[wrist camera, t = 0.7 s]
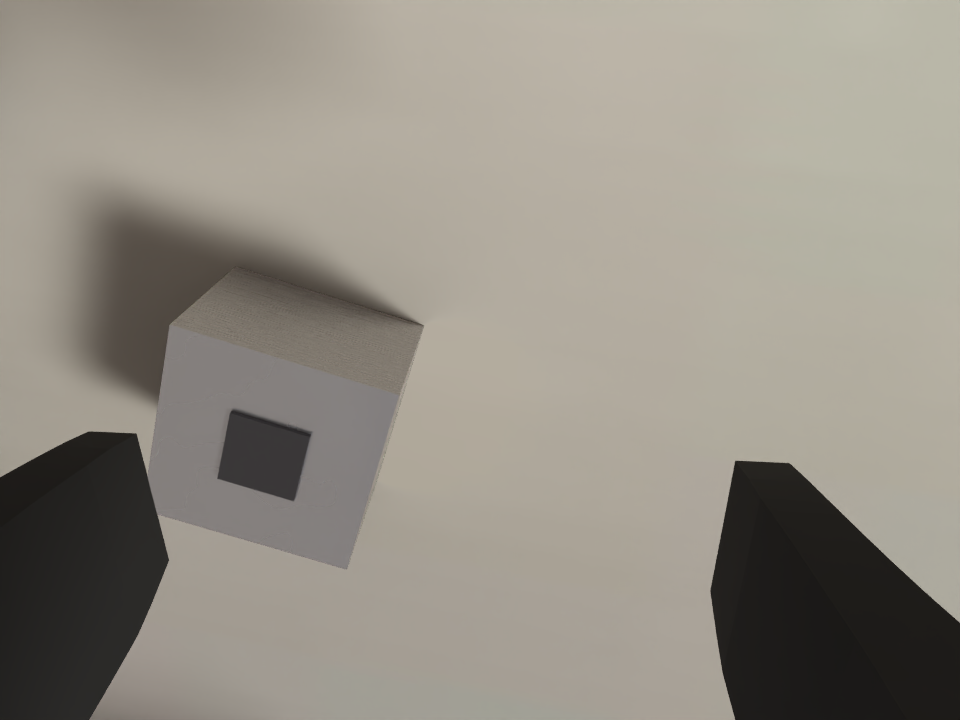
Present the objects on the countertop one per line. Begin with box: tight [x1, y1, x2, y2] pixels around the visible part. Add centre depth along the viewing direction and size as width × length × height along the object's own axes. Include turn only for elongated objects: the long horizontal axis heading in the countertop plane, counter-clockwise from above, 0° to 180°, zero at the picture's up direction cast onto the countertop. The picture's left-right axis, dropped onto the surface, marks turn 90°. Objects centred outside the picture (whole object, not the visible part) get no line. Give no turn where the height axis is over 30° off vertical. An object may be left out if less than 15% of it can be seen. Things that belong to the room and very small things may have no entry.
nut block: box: [148, 267, 424, 569], centre depth 19 cm, size 5×5×4 cm
